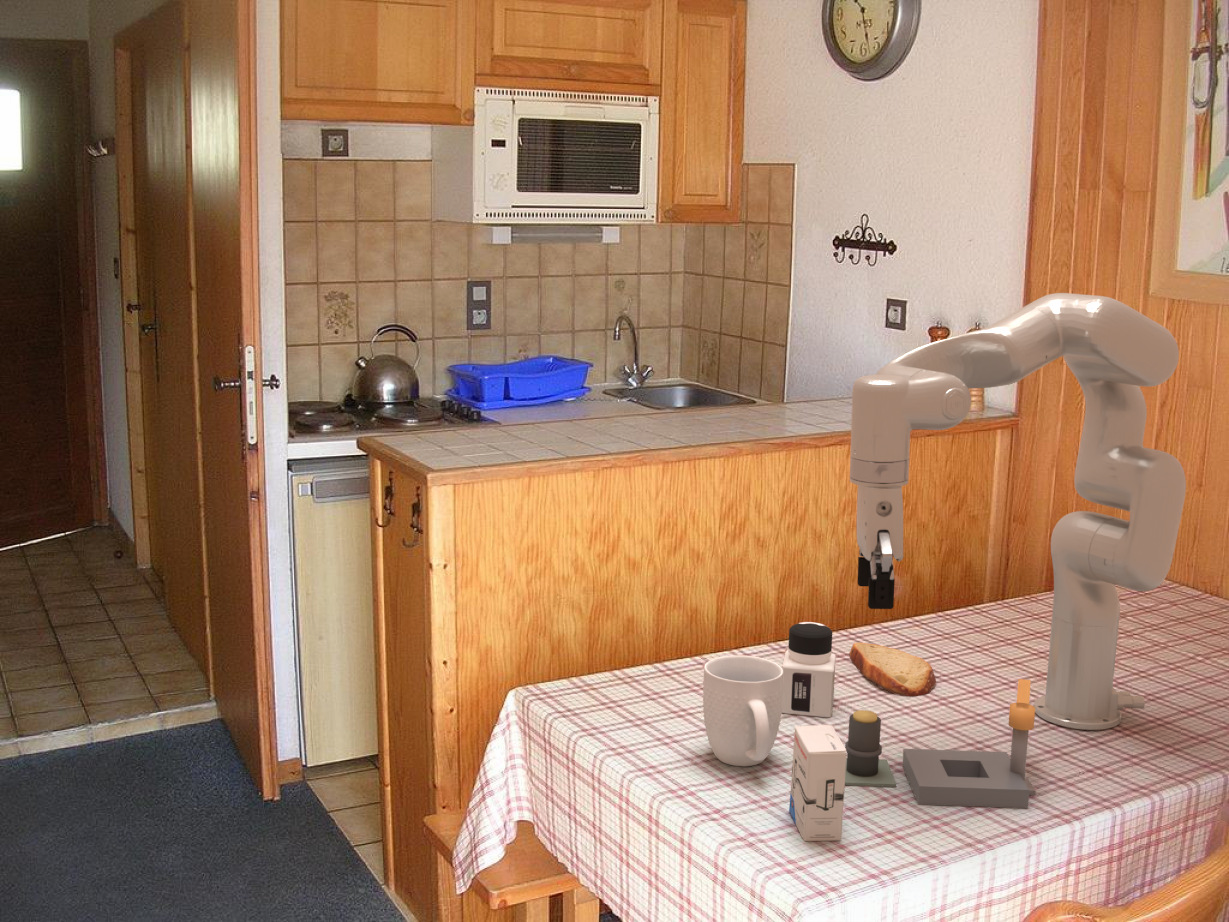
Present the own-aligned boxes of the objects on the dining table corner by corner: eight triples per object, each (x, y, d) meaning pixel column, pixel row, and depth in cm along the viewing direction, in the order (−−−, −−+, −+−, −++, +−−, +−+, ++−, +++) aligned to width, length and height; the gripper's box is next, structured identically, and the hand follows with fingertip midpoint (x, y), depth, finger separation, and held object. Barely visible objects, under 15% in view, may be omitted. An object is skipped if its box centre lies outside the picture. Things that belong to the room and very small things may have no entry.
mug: (801, 782, 176) (806, 689, 173) (722, 789, 173) (726, 695, 171) (764, 738, 190) (768, 652, 187) (691, 744, 187) (693, 657, 185)
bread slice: (856, 650, 230) (858, 629, 230) (957, 670, 221) (958, 649, 220) (814, 679, 216) (815, 657, 215) (920, 702, 206) (921, 680, 205)
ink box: (788, 810, 167) (792, 723, 165) (826, 809, 168) (830, 722, 166) (803, 842, 159) (807, 751, 157) (843, 841, 159) (848, 750, 157)
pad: (886, 762, 182) (886, 759, 182) (896, 787, 175) (896, 784, 175) (828, 760, 183) (828, 757, 183) (835, 784, 175) (835, 782, 175)
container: (831, 718, 198) (835, 635, 196) (779, 713, 200) (783, 631, 197) (833, 700, 205) (837, 620, 203) (783, 695, 207) (787, 616, 205)
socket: (1019, 769, 181) (1024, 711, 179) (1043, 808, 169) (1049, 746, 167) (902, 765, 181) (906, 707, 180) (918, 804, 170) (922, 742, 168)
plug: (877, 763, 181) (880, 708, 180) (883, 778, 176) (886, 722, 175) (841, 762, 181) (844, 707, 180) (846, 777, 176) (849, 720, 175)
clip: (1033, 731, 171) (1035, 712, 171) (1008, 728, 172) (1009, 709, 172) (1035, 698, 183) (1036, 680, 183) (1011, 695, 184) (1012, 678, 184)
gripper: (920, 485, 162) (915, 617, 166) (897, 457, 179) (892, 578, 183) (859, 485, 163) (855, 617, 166) (841, 457, 179) (838, 577, 183)
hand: (874, 596), depth 174 cm, fingers open, 9 cm apart
